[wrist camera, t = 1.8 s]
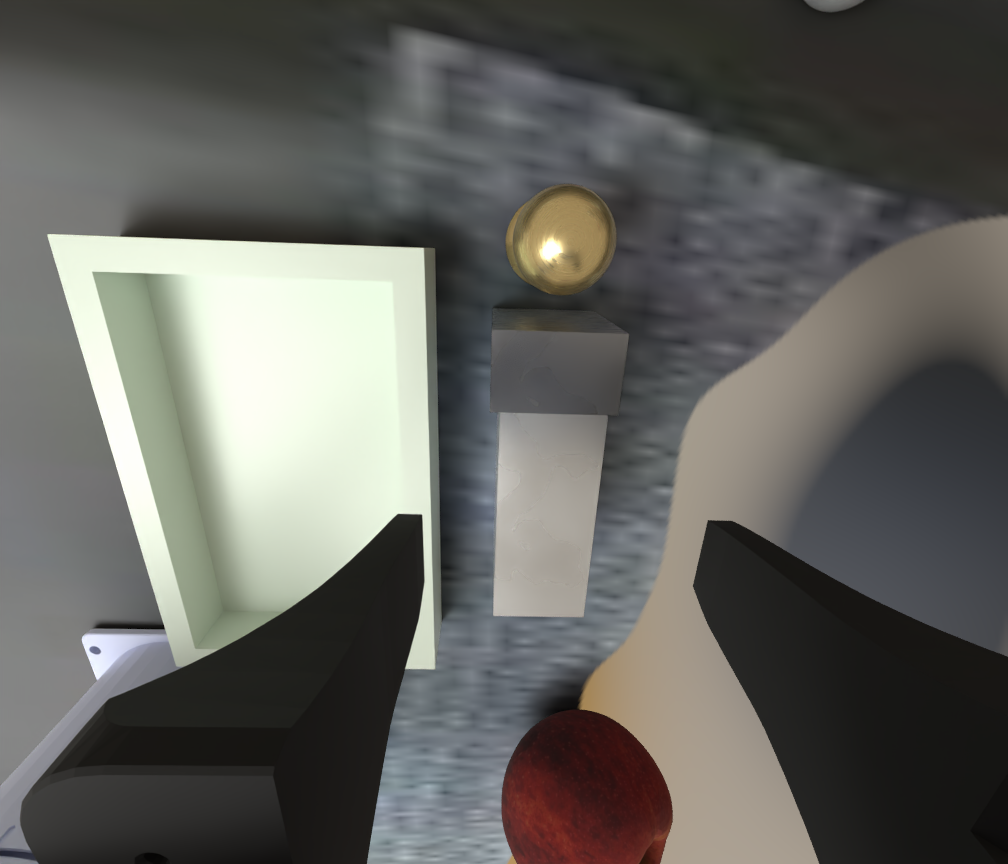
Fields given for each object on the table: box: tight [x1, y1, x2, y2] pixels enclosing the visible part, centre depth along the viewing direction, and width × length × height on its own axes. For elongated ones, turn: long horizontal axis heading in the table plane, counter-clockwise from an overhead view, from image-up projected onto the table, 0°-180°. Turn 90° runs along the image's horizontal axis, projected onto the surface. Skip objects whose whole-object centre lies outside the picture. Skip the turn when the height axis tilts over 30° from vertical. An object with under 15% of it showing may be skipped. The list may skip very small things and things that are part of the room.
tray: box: [47, 234, 442, 669], centre depth 18 cm, size 17×11×3 cm, turn 178°
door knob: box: [506, 184, 617, 295], centre depth 14 cm, size 3×3×6 cm
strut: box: [490, 308, 629, 617], centre depth 17 cm, size 10×4×5 cm, turn 178°
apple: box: [502, 710, 673, 864], centre depth 22 cm, size 7×8×8 cm
